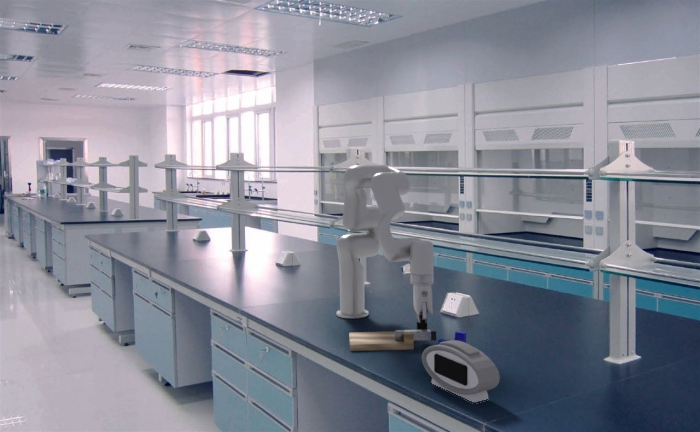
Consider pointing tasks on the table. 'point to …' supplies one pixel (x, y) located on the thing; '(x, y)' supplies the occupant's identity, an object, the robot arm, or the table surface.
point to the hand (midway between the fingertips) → (422, 333)
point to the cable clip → (456, 337)
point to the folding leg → (416, 334)
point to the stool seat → (379, 341)
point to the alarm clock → (461, 369)
